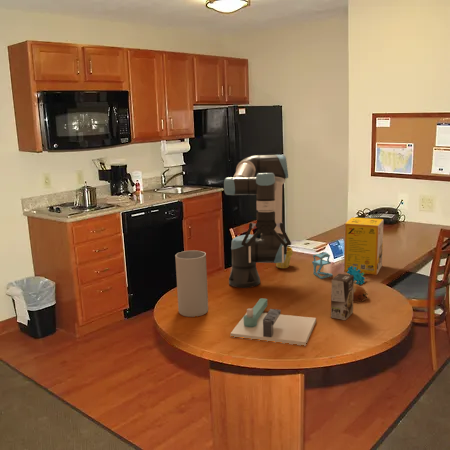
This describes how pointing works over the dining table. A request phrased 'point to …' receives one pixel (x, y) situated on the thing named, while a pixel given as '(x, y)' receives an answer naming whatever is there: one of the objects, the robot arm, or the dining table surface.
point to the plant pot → (286, 259)
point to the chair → (321, 264)
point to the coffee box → (342, 296)
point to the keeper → (270, 322)
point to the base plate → (279, 329)
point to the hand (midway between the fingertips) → (266, 262)
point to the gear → (356, 275)
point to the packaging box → (363, 245)
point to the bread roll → (359, 293)
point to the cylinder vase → (192, 283)
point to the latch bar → (255, 313)
